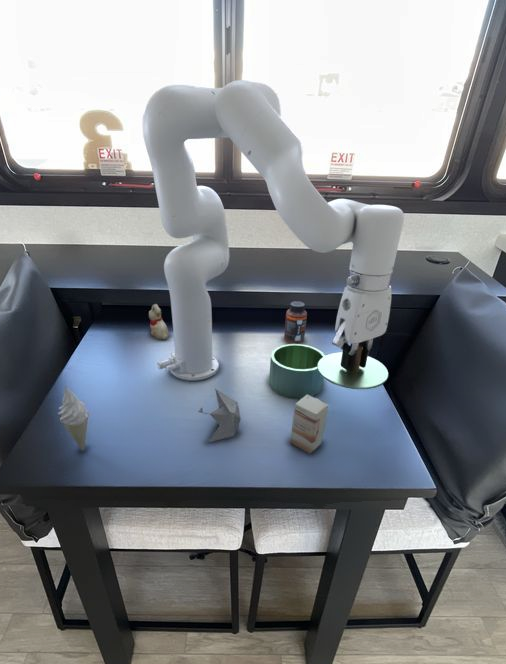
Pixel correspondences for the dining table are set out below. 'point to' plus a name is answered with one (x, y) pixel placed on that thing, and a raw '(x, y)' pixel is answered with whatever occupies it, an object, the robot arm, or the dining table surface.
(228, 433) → the gray faceted winged figurine
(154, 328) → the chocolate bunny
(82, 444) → the ice cream cone
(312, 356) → the tin
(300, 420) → the small beige carton
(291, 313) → the supplement bottle
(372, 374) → the lid
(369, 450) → the dining table surface
